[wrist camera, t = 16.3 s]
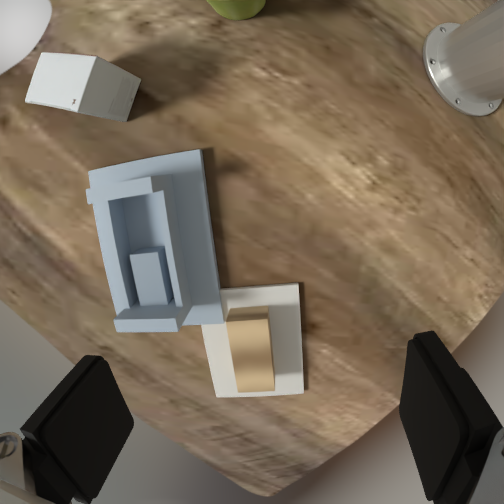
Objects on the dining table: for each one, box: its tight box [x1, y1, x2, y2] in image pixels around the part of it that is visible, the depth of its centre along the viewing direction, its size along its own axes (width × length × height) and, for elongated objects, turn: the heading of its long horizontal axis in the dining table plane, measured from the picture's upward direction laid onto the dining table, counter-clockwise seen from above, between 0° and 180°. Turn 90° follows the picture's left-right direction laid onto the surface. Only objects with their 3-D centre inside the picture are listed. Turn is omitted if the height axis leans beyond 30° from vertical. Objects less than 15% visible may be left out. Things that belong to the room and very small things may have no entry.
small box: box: [25, 52, 141, 122], centre depth 28 cm, size 8×6×10 cm
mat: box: [201, 283, 304, 397], centre depth 39 cm, size 12×16×1 cm
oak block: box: [226, 306, 275, 393], centre depth 37 cm, size 10×4×4 cm, turn 6°
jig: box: [86, 149, 225, 332], centre depth 34 cm, size 20×14×8 cm
